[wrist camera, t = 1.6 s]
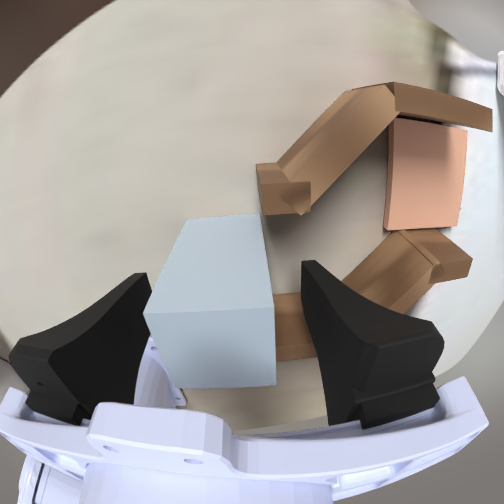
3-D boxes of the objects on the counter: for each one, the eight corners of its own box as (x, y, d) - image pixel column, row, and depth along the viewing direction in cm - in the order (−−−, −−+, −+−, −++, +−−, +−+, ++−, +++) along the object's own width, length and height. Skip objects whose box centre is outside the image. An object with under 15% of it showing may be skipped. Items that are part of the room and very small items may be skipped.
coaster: (451, 222, 15) (456, 226, 15) (383, 226, 15) (387, 230, 15) (461, 129, 12) (467, 130, 12) (388, 117, 12) (393, 117, 12)
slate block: (263, 275, 17) (276, 385, 10) (198, 280, 17) (175, 388, 10) (259, 212, 15) (274, 306, 8) (187, 219, 15) (142, 313, 8)
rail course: (417, 290, 18) (447, 328, 14) (265, 310, 18) (271, 362, 14) (441, 103, 12) (492, 109, 8) (249, 88, 12) (252, 74, 8)
